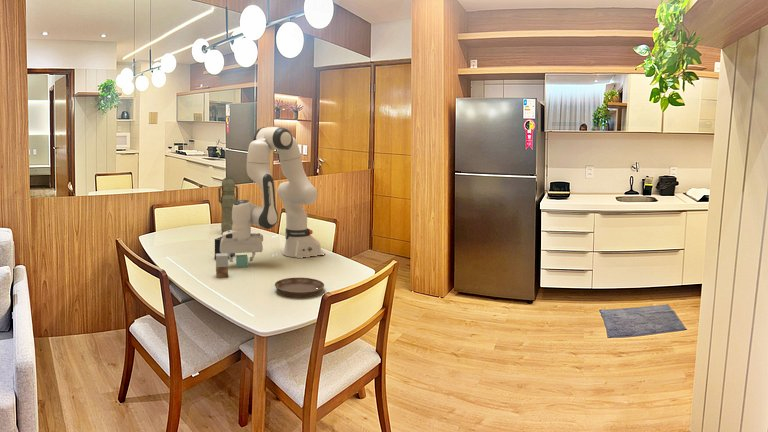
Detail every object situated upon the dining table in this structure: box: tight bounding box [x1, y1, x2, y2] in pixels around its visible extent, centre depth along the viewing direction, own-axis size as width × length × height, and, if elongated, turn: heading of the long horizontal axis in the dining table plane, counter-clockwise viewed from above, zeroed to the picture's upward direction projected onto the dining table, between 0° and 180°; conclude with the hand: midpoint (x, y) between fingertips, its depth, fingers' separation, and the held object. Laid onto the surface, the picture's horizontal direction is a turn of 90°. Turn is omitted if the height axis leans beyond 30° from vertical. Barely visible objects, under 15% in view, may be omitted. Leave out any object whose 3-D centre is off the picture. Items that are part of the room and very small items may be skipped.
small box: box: [214, 236, 236, 260], centre depth 266 cm, size 11×6×10 cm, turn 168°
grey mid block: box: [215, 253, 229, 268], centre depth 233 cm, size 5×5×5 cm
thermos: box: [217, 177, 239, 235], centre depth 319 cm, size 9×12×35 cm
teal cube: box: [235, 254, 249, 268], centre depth 252 cm, size 5×5×5 cm
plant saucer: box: [274, 277, 325, 298], centre depth 218 cm, size 21×21×3 cm
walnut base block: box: [215, 266, 229, 279], centre depth 234 cm, size 5×5×5 cm
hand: (241, 261), depth 252 cm, fingers open, 8 cm apart
